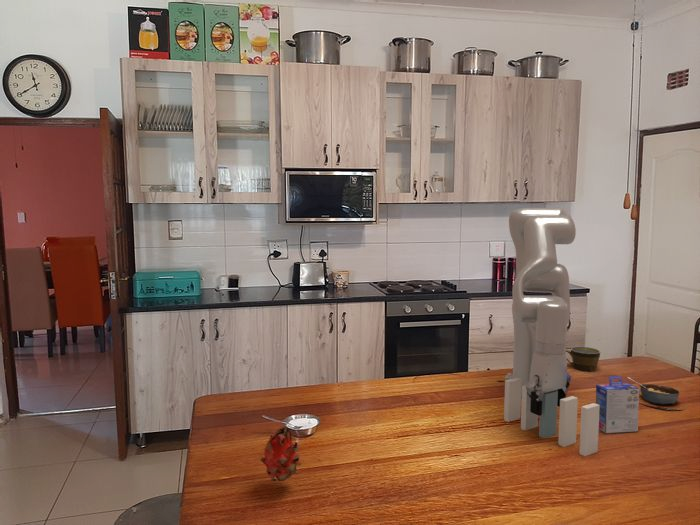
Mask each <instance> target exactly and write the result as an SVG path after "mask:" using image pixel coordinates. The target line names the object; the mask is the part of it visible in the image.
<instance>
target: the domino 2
mask: <svg viewBox="0 0 700 525" xmlns="http://www.w3.org/2000/svg"><path fill="white" fill-rule="evenodd" d="M536 394H537V395H538V394H539V392H538V391H537V392H536ZM530 405H531V398H529V395H528V394H527V390H526V385H525V386H522V397H521V410H520V429H521V430H523V431H529V430H531V429H534V428H537V427H539V426H538V425H539V424H538V423H539V422H538V420H539V416H538V415H536V414H534V413H531V412H530Z"/></svg>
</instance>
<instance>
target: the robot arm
mask: <svg viewBox="0 0 700 525" xmlns="http://www.w3.org/2000/svg"><path fill="white" fill-rule="evenodd" d="M575 224H576V223H575V222H574V219H573V218H572V216H571V215H570V214H569V213H568V212H567V211H566V210H565V209H564V208H561V207H560V208H559V207H522V208H517V209H513V210H512V211H511V212H510V214H509V215H508V229H509V233H510V234H509V235H510V237H511V239H512V243H513V245H514V249H515V271H516V272H515V278H514V281H513V284H512V292H511V293H512V304H511V312H512V320H513V323H512V324H513V359H512V373H511V372H508V373H507V374H506V375H505V376H504V381H505V380H509V379H514V378H520V379H522V380H521V398H522V386H525V385H526V390H527V394H528V395H529V398H531V405H530V412H531V413H534V414H536V415H538V417H540V416H541V415H542V401H541V398H542V396H543V394H544V393H547V392H551V391H554V390H556V391H558V402H557V408H558V407H559V408H560V399H563V398H567V393H568V391H569V390H568V388H569V387H570V382H571V379H572V374H570V373H568V364H567V363H568V361H567V360H566V358H567V352H566V350H567V332H568V324H569V322H570V320H571V301H570V300H571V298H570V297H571V295H570V276H569V271H568V269H567V268H566V266H565V265H563V264H561V263H558V258H557V250H556V245H570V244H572V243H573V242H574V241H575V238H576V234H577V232H576V231H577V230H576V225H575ZM524 292H527V293H528V292H529V293H547V294H549V293H550V294H551V296H550V295H525V294H524ZM537 391H538V392H539V394H538V395H537V394H536V392H537Z"/></svg>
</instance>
